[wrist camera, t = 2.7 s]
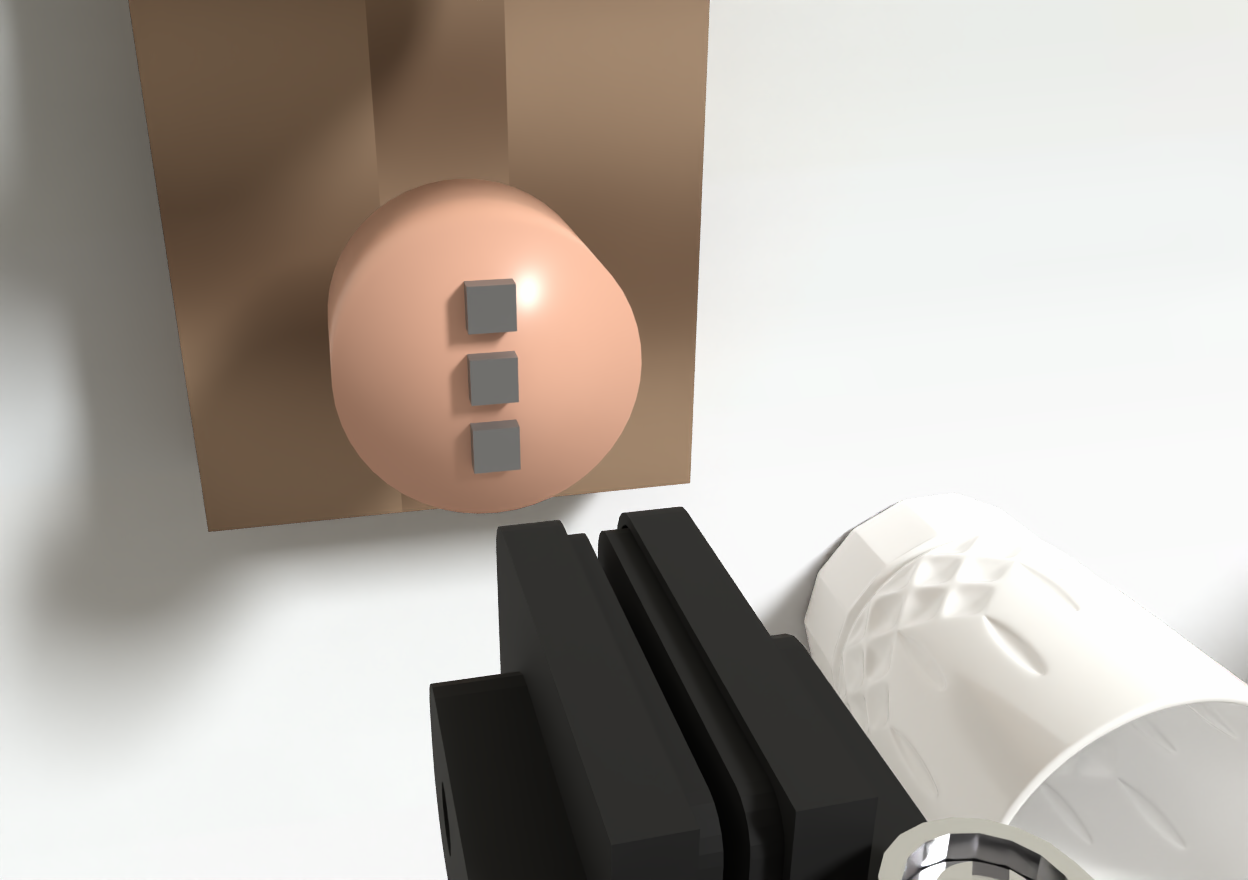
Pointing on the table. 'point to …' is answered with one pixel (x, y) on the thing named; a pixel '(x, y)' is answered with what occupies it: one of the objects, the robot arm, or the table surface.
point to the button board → (387, 167)
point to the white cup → (1033, 693)
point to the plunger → (478, 348)
